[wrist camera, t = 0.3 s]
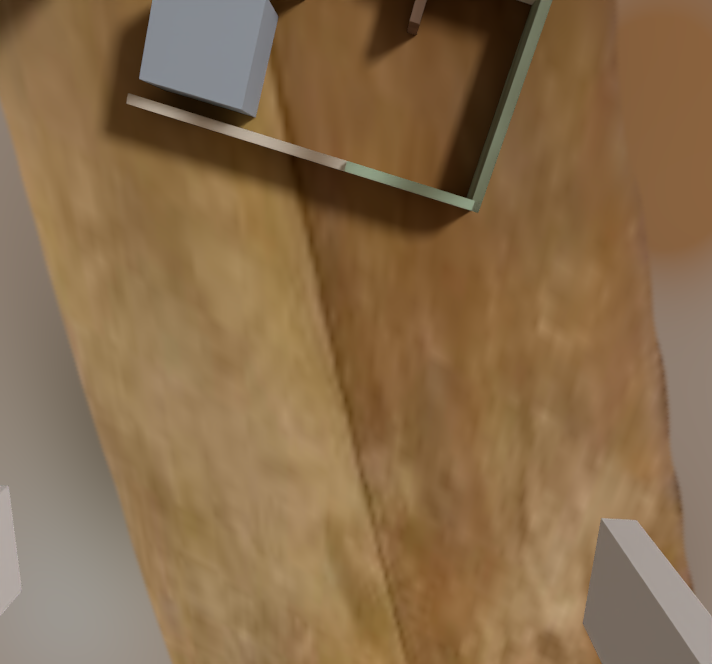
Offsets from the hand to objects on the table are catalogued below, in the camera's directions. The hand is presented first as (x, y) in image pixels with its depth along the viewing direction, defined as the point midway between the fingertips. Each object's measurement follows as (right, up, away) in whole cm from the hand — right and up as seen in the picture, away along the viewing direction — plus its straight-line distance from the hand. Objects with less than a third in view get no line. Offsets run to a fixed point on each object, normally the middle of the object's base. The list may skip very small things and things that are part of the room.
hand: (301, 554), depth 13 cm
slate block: (-7, +22, +23) cm, 32 cm away
